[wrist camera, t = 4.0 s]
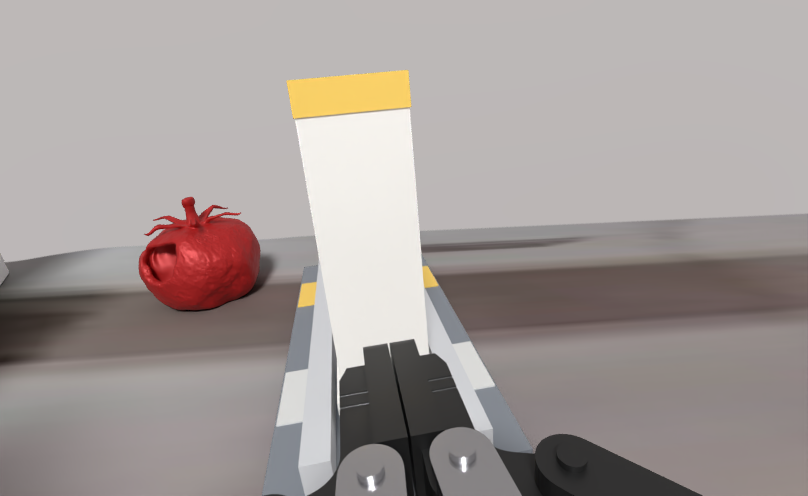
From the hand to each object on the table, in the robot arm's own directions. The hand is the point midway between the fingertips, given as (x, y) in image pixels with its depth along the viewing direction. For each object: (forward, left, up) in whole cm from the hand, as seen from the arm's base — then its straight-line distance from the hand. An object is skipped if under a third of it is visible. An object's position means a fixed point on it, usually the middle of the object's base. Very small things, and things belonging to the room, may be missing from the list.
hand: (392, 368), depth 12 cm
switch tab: (+4, +6, -6) cm, 10 cm away
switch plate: (+7, +12, -8) cm, 16 cm away
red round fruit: (+1, +30, -8) cm, 31 cm away
